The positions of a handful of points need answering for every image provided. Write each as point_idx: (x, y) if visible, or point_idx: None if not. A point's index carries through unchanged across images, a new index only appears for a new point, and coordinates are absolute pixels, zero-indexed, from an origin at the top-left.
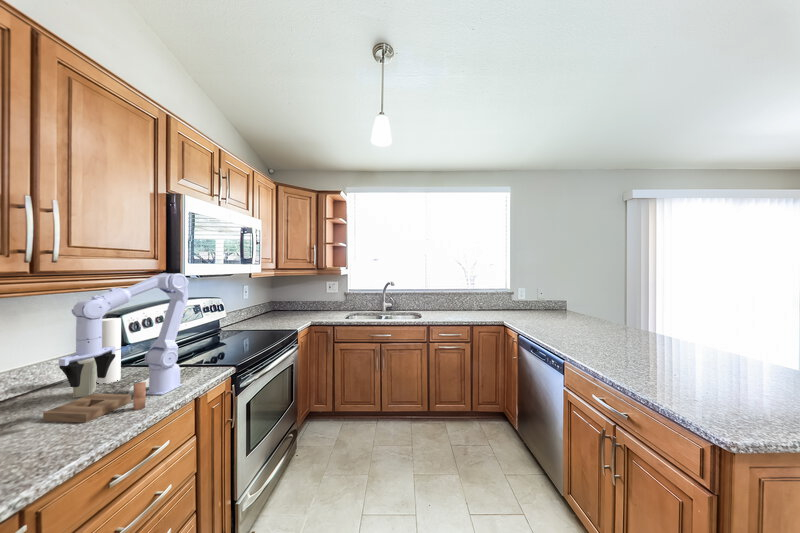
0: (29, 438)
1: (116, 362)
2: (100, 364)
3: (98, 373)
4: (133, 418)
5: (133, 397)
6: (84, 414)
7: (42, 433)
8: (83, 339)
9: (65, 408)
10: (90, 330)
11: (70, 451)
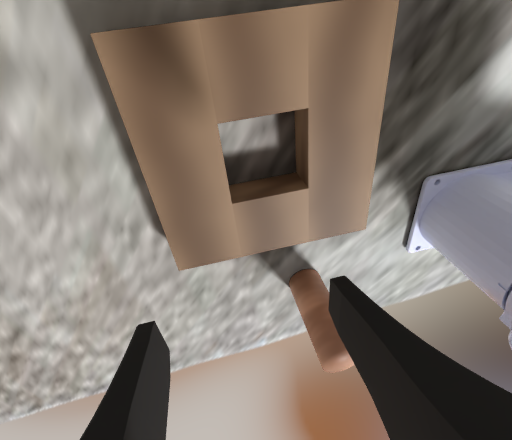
0: (9, 206)
1: None
2: (396, 395)
3: (346, 310)
4: (242, 325)
5: (307, 310)
6: (176, 263)
7: (55, 203)
8: None
9: (182, 110)
10: None
11: (70, 369)
